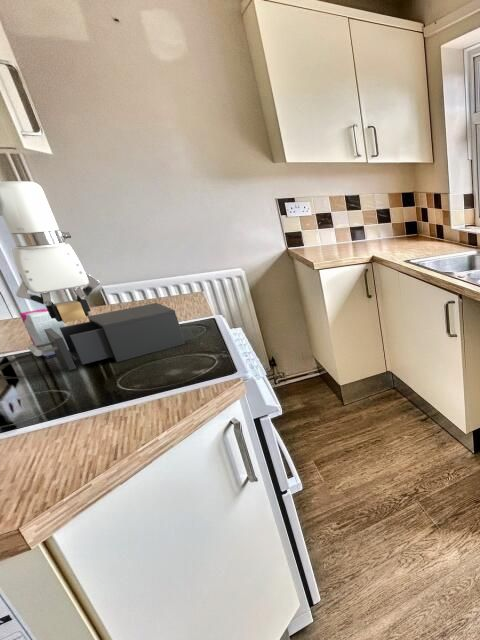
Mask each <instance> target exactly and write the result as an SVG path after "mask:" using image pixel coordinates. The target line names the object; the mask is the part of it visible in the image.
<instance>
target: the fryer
mask: <svg viewBox="0 0 480 640" xmlns="http://www.w3.org/2000/svg"><path fill="white" fill-rule="evenodd" d="M87 319H88V322H90V321H92V322H94V323H96V324H97V325H99V326H100V327H102V328H103V330H104V333H105V335H106V338H107V340H108V343H109V345H110V348H111V350H112V353H113V355H114V357H110V358H111V359H112V360H113V361H114V362H116V363H119V362H123V361H126V360H130V359H134V358H138V357H141V356H145V355H149V354H153V353H156V352H157V353H158V352H160V351H164V350H167V349H172V348H175V347H179V346H182V345H186V340H185V337H184V334H183V332H182V328H181V325H180V322H179V319H178V315H177V313H176V310H175V309H173V308H171V307H168V306H166V305H163V304H161V303H158V302H154V303H149V304H148V303H147V304H143V305H138V306H133V307H128V308H123V309H119V310H114V311H108V312H102V313H98V314H92V315H89V316H87Z"/></svg>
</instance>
